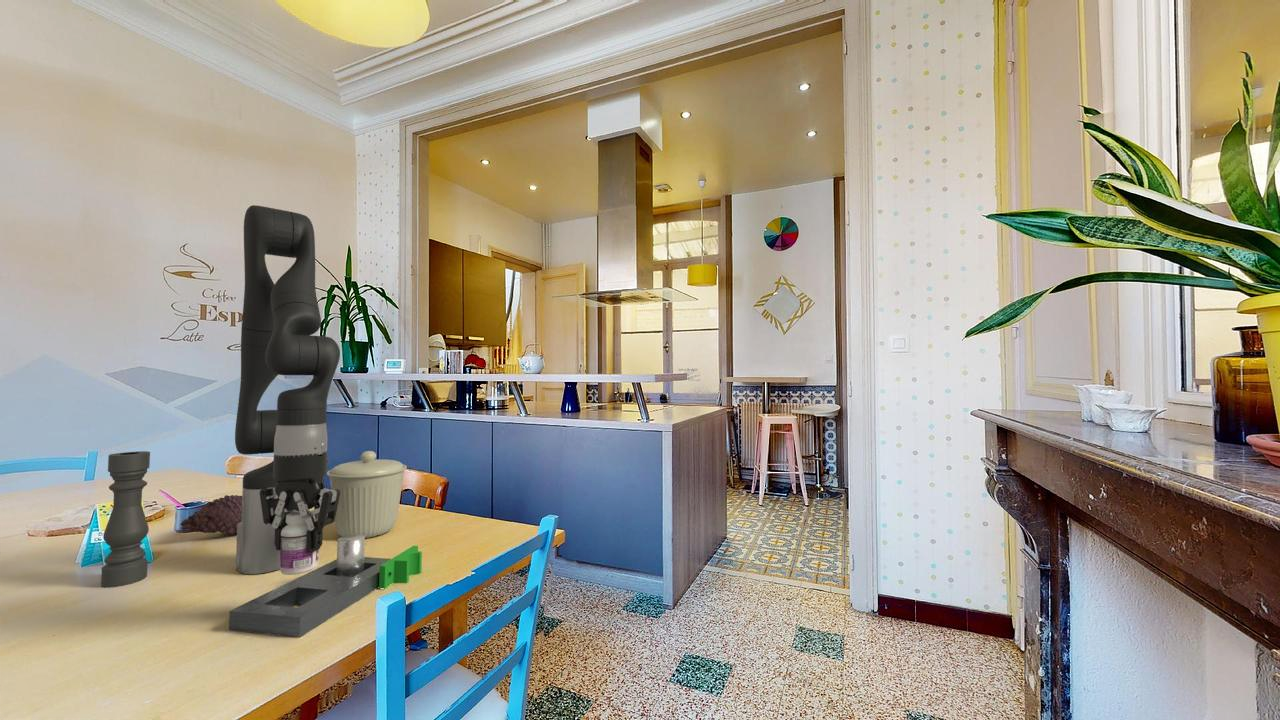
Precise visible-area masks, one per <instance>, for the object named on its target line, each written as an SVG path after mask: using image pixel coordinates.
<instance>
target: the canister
mask: <svg viewBox="0 0 1280 720" xmlns="http://www.w3.org/2000/svg"><path fill="white" fill-rule="evenodd" d="M406 470H407V465H406V464H403V463H402V462H400V461H398V460H396V459H395V460H393V459H377V454H376V452H374V451H373V450H367V451H363V452H362V453H361V455H360V460H356V461H348V462H344V463H340V464H338V465H336V466H334V467H333V468H332V469H329V470H328V471H327V472H326V475H327V476H328V477H329V485H330V490H335V489H339V490H340V497H339V502H338V507H337V511H336V516H335V521H334V522H333V523H334V528H335V530H336V533H337V534H338V535H339V537H343V536H346V535H352V534H363V535H365V539H367V538H374V537H377V535H378V536H381V535H383V534H386V533H387V532H390V531H392V529H393V528H394V527H395V524H396V522H397V519H398V515H399V508H400V501H401V496H402V488H403V487H402V486H403V480H404V471H406Z"/></svg>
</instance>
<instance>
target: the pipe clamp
mask: <svg viewBox="0 0 1280 720" xmlns="http://www.w3.org/2000/svg"><path fill="white" fill-rule="evenodd" d="M422 555H423V551H419V545H412V546H410V547H409V548H407V549H406V550H404V551H402V552H400V553H398V554H397V555H396V556H394V557H392V558H390V559H391V560H389V561H387V562H386V563H384V564H382V565H381V566H380V572H379V588H384V589H383V590H386V589H387V588H388V587H387V586H389V585H390V584H392V583H393V584H408V583H409V581H410V579H409V578H410V576H413V575H421V573H422V564H423V563H422V561H423V556H422ZM393 584H392V585H393ZM390 586H391V585H390ZM390 586H389V587H390ZM386 587H387V588H386ZM379 588H378V589H379ZM385 588H386V589H385Z"/></svg>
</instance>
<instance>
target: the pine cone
mask: <svg viewBox="0 0 1280 720" xmlns="http://www.w3.org/2000/svg"><path fill="white" fill-rule="evenodd" d="M240 522H242V495H239V494H237V495H236V494H235V495H234V494H231V495H227V494H226V495H224V497H220V498H216V499H213V500H212V501H209V502H207V503H206V504H205V505H203V507H202V508H201V509H200V510H196V511H194V513H193V514H192V515H190V516H189V515H188V517H187V518H186V519H184V520H182V522H181V523H180V526H181V527H180V528H181V530H182V531H184V530H185V531H188V530H189V531H190V532H196V533H204V534H215V533H218V532H219V533H221V535H224V536H228V535H231V536H232V535H235V534H237V525H238V524H239V523H240Z"/></svg>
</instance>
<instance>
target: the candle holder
mask: <svg viewBox="0 0 1280 720" xmlns="http://www.w3.org/2000/svg"><path fill="white" fill-rule="evenodd" d="M107 459H108V460H107V461H108V462H107V472H108V473H109V476H110V477H111V478H112V481H114V482H113V483H111V484H110V485H109V486H108V489H109V491H112V493H113V503H112V505H113V507H112V509H111V513H110V516H109V519H108V521H107V524H106V527H105V529H104V533H103V541H104V542H105V544H107V546H109V551H111V552H109V554H107V556H106V557H105V558H103V559H104V560H103V562H104V563H105V565H104V566H102V567H101V578H100V580H101V581H100V586H101V587H102V588H106V587H107V588H116V587H117V588H118V587H123V586H127V585H131V584H134V583H138V582H140V581H142V580H144V579H147V577H148V561H149V560H148V558H146V557H145V556H146V555H147V552H146V550H145V549H143V548H142V547H141V545H142V544H143V542H142V541H143V540H144V539H145V538H146V537H147V536H148V533H149V531H150V530H149V524H148V522H147V518H146V514H145V511H144V508H143V505H142V500H143V499H142V498H143V489H144V488H145V487H146V486H147V485H148V481H146V480H144V479H143V478H144V477H145V475H146V474H147V473H148V469H150V465H151V464H150V463H151V462H150V460H151V451H147V450H145V451H138V450H137V451H127V452H117V453H110V454H108V458H107Z"/></svg>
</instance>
